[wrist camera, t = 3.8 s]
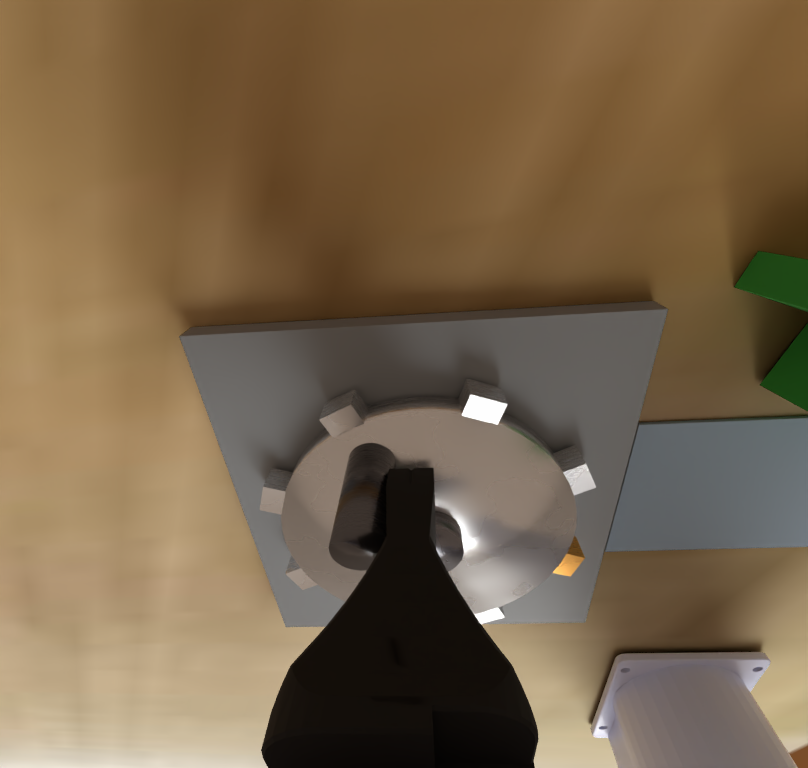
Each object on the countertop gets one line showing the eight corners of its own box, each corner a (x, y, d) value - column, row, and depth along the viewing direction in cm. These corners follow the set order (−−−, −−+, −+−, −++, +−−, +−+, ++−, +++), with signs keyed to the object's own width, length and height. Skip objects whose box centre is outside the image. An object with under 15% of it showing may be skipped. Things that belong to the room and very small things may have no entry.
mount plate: (579, 606, 20) (585, 622, 20) (290, 611, 21) (286, 626, 20) (654, 300, 12) (668, 309, 12) (191, 326, 13) (178, 336, 13)
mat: (902, 538, 18) (910, 544, 17) (602, 546, 18) (605, 551, 18) (1008, 404, 14) (1019, 409, 14) (635, 420, 15) (639, 424, 15)
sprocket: (624, 558, 17) (688, 678, 13) (373, 633, 20) (363, 748, 16) (516, 309, 12) (567, 384, 8) (201, 464, 15) (124, 571, 11)
